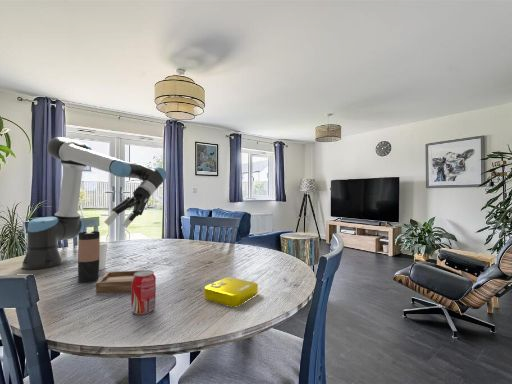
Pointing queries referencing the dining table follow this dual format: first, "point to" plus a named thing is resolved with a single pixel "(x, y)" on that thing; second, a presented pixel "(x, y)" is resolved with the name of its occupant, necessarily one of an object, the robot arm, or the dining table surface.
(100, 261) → the candle holder
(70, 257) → the dining table surface
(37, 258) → the robot arm
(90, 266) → the travel mug
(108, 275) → the tray
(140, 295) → the soda can
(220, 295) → the element tile
